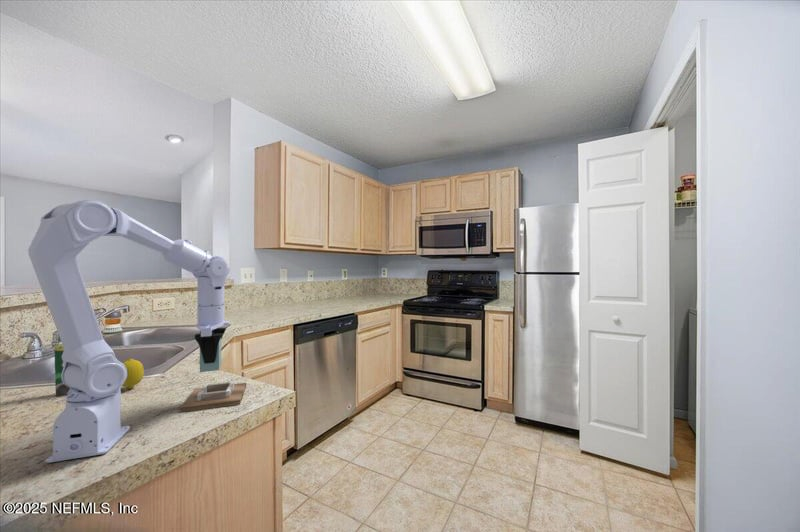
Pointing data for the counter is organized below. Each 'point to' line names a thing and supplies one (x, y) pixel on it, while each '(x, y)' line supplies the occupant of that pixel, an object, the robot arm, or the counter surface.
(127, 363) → the lemon
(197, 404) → the socket
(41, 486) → the counter surface
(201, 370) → the square peg
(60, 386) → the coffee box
